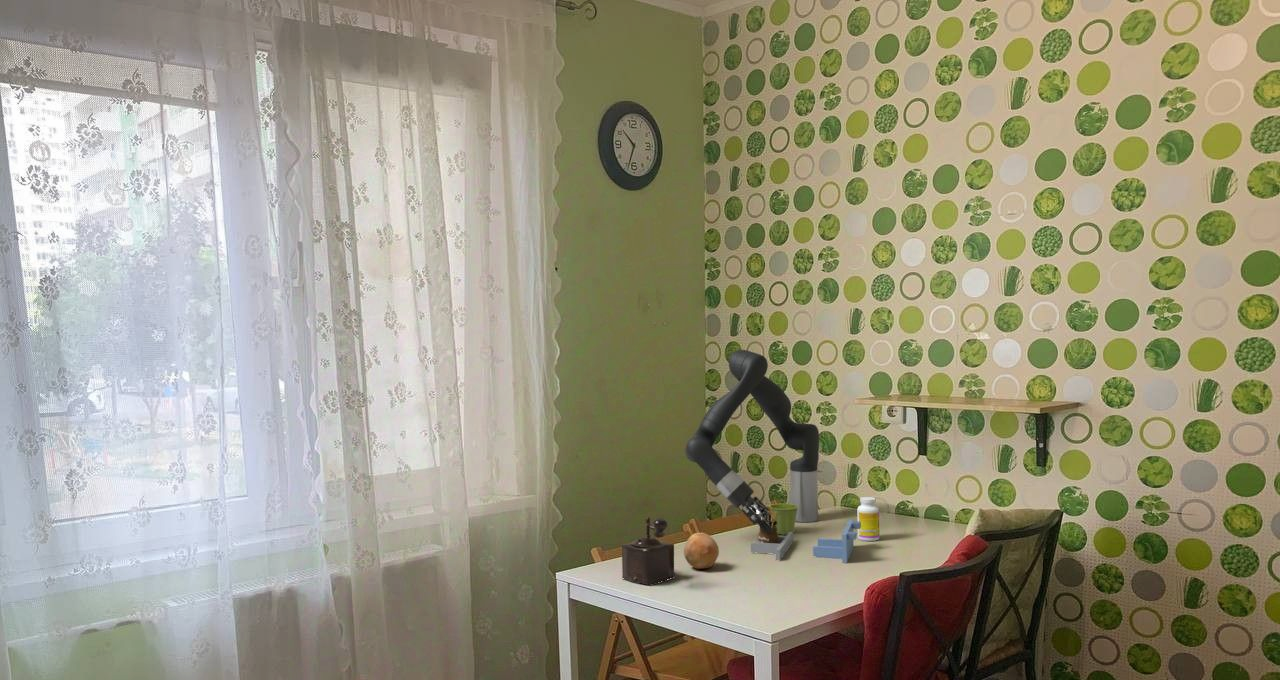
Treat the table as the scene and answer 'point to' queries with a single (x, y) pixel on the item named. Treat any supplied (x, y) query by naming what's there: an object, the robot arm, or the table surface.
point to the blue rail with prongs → (838, 544)
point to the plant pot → (784, 517)
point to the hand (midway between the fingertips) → (772, 528)
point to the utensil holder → (772, 535)
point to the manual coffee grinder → (649, 556)
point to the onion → (701, 551)
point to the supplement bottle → (868, 519)
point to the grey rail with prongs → (773, 546)
